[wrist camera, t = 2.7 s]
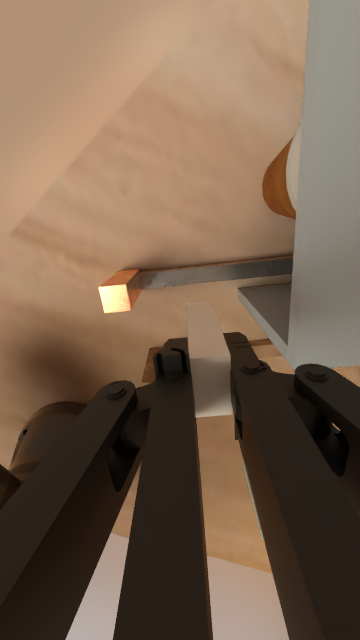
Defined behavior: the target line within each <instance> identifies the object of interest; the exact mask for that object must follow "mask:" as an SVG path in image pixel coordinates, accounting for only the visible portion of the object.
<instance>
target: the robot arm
mask: <svg viewBox="0 0 360 640" xmlns="http://www.w3.org/2000/svg"><path fill="white" fill-rule="evenodd" d="M186 312H187V332H188V337H187V338H176V339H169V340H168V341H167V342H166V343H165V344H164V348H163V349H161V350H158V351H157V352H156V353H154V355H153V357H152V358H153V363H154V369H155V375H156V377H155V380H154V381H153V382H151V383H150V384H147V385H145V386H142V387H138V388H135V386H134V384H133V383H131V382H129V381H125V380H124V381H115V382H112V383H110V384H108V385H106V386H104V387H103V388H102V389H101V390H100V391H99V392H98V393H97V394H96V395H95V397H94V398H93V399H92V400H91V401H90V403H89V404H88V405H87V406H85V405H81V404H76V403H56V404H52V405H48V406H46V407H43V408H41V409H40V410H38V411H37V412H36V413H34V414H33V416H32V417H31V418H30V419H29V421H28V422H27V423H26V425H25V426H24V427H23V429H22V431H21V433H20V435H19V438H18V442H17V445H16V448H15V451H14V454H13V458H12V461H11V464H10V467H9V470H7V469H5V468H4V467H3V466H2V465H0V640H65V639H66V637H67V634H68V632H69V630H70V627H71V625H72V623H73V620H74V618H75V615H76V613H77V611H78V608H79V606H80V604H81V601H82V599H83V597H84V594H85V592H86V590H87V587H88V585H89V582H90V580H91V578H92V575H93V573H94V570H95V568H96V566H97V563H98V561H99V559H100V557H101V554H102V552H103V550H104V547H105V545H106V542H107V540H108V538H109V535H110V533H111V531H112V528H113V526H114V524H115V521H116V519H117V517H118V514H119V512H120V510H121V507H122V505H123V503H124V500H125V498H126V496H127V493H128V491H129V488H130V486H131V484H132V481H133V479H134V477H135V474H136V472H137V470H138V467H139V465H140V463H141V460H142V464H141V470H140V476H139V482H138V488H137V494H136V501H135V507H134V513H133V519H132V525H131V531H130V537H129V544H128V550H127V556H126V562H125V569H124V575H123V581H122V587H121V593H120V599H119V605H118V612H117V618H116V624H115V630H114V636H113V640H213V632H212V619H211V606H210V593H209V581H208V568H207V554H206V541H205V528H204V515H203V502H202V489H201V476H200V463H199V450H198V437H197V425H196V417H208V416H221V415H232V407H233V411H234V419H235V440H239V444H240V448H241V452H242V455H243V459H244V463H245V467H246V471H247V475H248V479H249V483H250V487H251V491H252V495H253V499H254V502H255V506H256V510H257V514H258V518H259V522H260V526H261V530H262V534H263V538H264V542H265V546H266V549H267V553H268V557H269V561H270V565H271V569H272V573H273V577H274V581H275V585H276V589H277V592H278V596H279V600H280V604H281V608H282V612H283V616H284V620H285V624H286V628H287V632H288V636H289V640H360V387H358V386H357V385H355V384H354V383H352V382H351V381H349V380H348V379H346V378H345V377H343V376H342V375H340V374H339V373H337V372H336V371H334V370H332V369H330V368H328V367H326V366H323V365H319V364H302V365H300V366H298V367H297V368H296V369H295V375H293V374H283V373H277V372H274V371H272V370H271V368H270V366H269V365H268V364H267V363H265V362H263V361H261V360H259V359H258V358H257V356H256V354H255V352H254V350H253V348H252V347H251V345H250V343H249V341H248V339H247V338H246V336H245V335H243V334H241V333H240V332H233V333H222V330H221V328H220V325H219V322H218V319H217V317H216V314H215V311H214V308H213V305H212V303H211V300H209V301H199V302H188V303H186ZM332 423H333V424H335V425H336V426H337V427H338V428H339V429H340V431H339V430H338V429H336V428H335V427H334V426H333V425H332Z"/></svg>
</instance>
